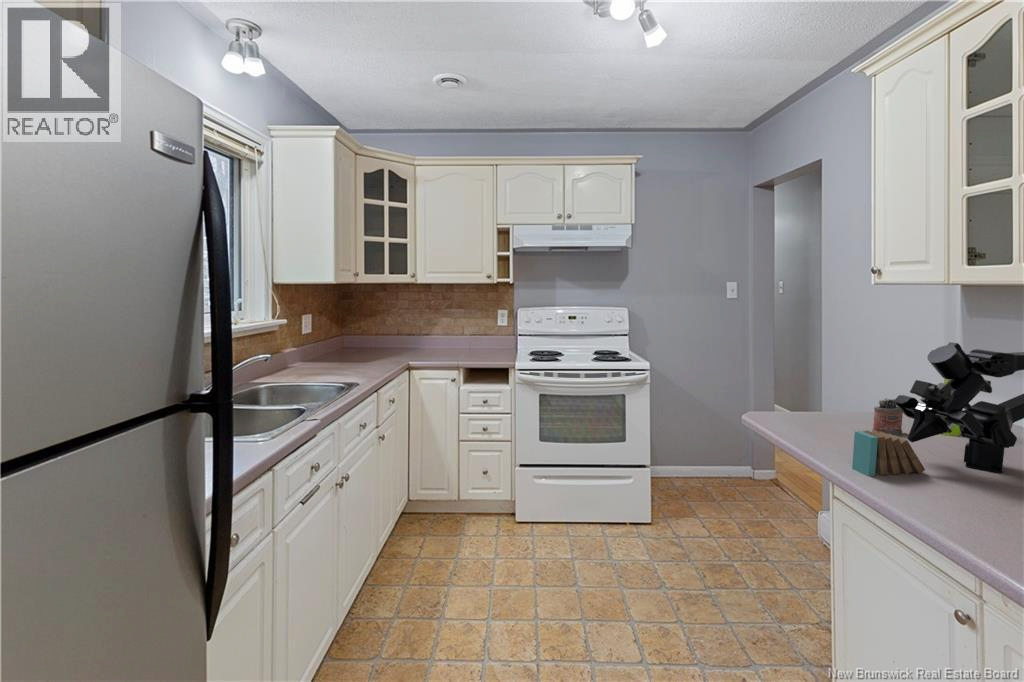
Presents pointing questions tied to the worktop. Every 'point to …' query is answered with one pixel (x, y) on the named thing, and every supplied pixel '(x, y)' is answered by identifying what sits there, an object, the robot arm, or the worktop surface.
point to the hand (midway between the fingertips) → (909, 440)
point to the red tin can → (887, 417)
